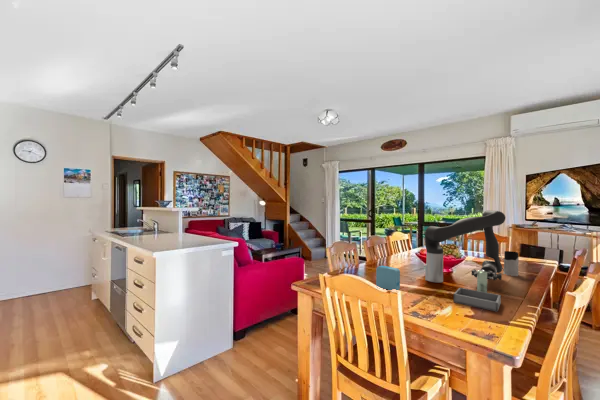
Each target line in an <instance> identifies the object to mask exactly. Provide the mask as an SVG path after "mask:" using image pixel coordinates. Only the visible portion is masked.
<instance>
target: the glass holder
mask: <svg viewBox="0 0 600 400" xmlns="http://www.w3.org/2000/svg"><path fill="white" fill-rule="evenodd" d="M503 255H504V258H503V257H502V254H501V253H500V252H499V256H500V259H501V260H503V267H502V271H503V273H502V275H505V274H506V275H505V276H509V275H511V277H519V276H520V274H519V252H518V251H517V252H516V251H512V250H509V251H508V250H505V251H504V254H503ZM493 261H495V260H494V259H493ZM518 275H519V276H518Z"/></svg>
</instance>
